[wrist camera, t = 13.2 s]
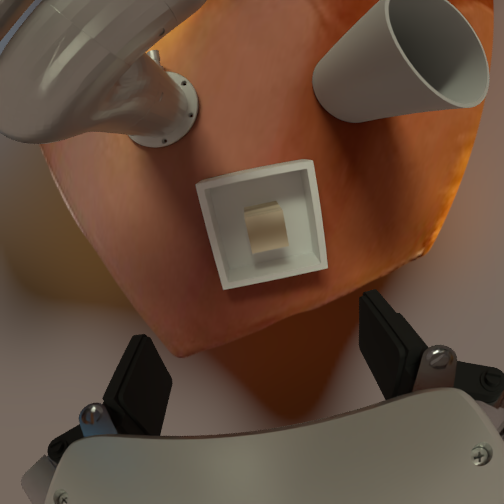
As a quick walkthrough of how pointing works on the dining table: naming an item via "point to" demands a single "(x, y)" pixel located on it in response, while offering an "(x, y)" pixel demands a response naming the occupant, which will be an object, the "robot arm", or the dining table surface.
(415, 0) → the cylinder vase
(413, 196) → the dining table surface
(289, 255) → the bin
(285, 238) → the birch block
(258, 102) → the dining table surface
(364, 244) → the dining table surface
